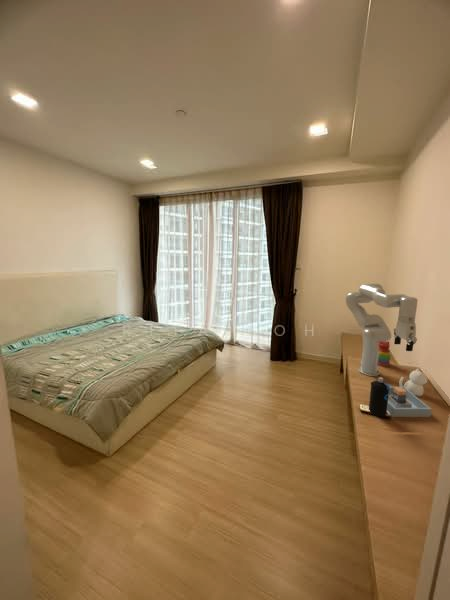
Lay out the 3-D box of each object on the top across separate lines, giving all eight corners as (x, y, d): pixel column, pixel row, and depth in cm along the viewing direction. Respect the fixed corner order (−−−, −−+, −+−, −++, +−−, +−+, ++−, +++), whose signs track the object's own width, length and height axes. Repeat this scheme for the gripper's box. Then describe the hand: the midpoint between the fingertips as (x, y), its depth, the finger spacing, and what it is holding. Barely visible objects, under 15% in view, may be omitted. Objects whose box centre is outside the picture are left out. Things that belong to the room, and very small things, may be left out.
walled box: (370, 394, 139) (371, 386, 138) (402, 394, 138) (403, 386, 137) (393, 418, 119) (394, 408, 118) (430, 418, 118) (431, 409, 117)
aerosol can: (368, 415, 121) (372, 380, 117) (367, 406, 129) (370, 372, 125) (388, 420, 118) (392, 384, 114) (385, 410, 125) (389, 375, 121)
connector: (399, 401, 130) (401, 387, 128) (404, 406, 126) (406, 391, 124) (392, 401, 130) (393, 387, 128) (397, 406, 126) (398, 391, 125)
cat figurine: (426, 400, 132) (431, 375, 129) (399, 394, 138) (403, 371, 135) (422, 391, 140) (426, 368, 137) (396, 386, 146) (400, 364, 143)
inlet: (386, 399, 132) (386, 395, 132) (400, 399, 132) (401, 395, 131) (395, 409, 124) (396, 404, 124) (411, 409, 124) (412, 404, 123)
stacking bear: (386, 361, 179) (389, 338, 175) (393, 367, 169) (396, 344, 166) (371, 360, 181) (373, 338, 178) (376, 366, 171) (379, 343, 168)
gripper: (425, 323, 123) (421, 353, 126) (402, 314, 140) (399, 341, 143) (410, 323, 123) (406, 353, 127) (389, 314, 140) (386, 341, 144)
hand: (402, 347), depth 135 cm, fingers open, 9 cm apart
